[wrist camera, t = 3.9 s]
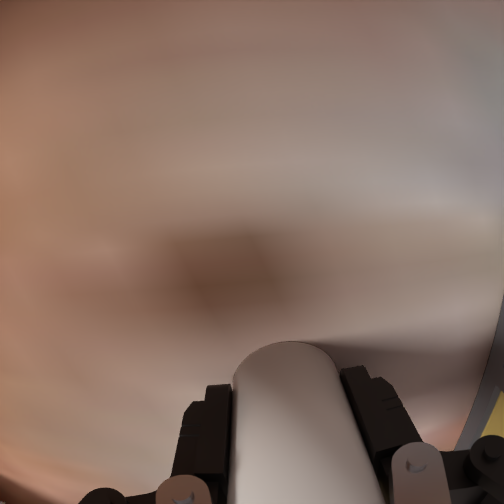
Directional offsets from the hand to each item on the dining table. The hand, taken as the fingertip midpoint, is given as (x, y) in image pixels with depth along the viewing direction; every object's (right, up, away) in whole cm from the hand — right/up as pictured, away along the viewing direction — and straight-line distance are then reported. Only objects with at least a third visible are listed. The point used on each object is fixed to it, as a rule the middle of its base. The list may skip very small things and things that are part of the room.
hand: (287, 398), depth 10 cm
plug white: (0, 0, +1) cm, 1 cm away
